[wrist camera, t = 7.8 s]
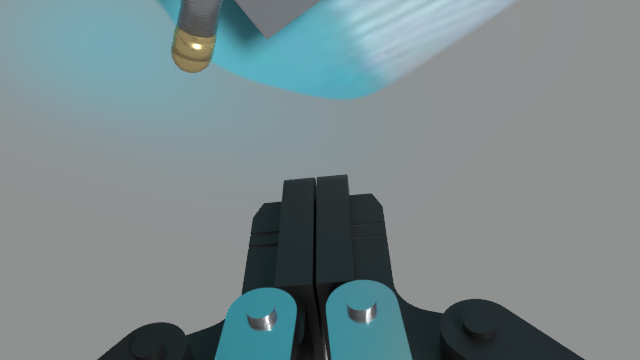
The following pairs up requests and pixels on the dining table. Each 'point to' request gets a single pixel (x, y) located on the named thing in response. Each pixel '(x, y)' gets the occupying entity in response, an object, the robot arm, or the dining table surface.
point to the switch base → (274, 13)
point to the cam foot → (195, 34)
